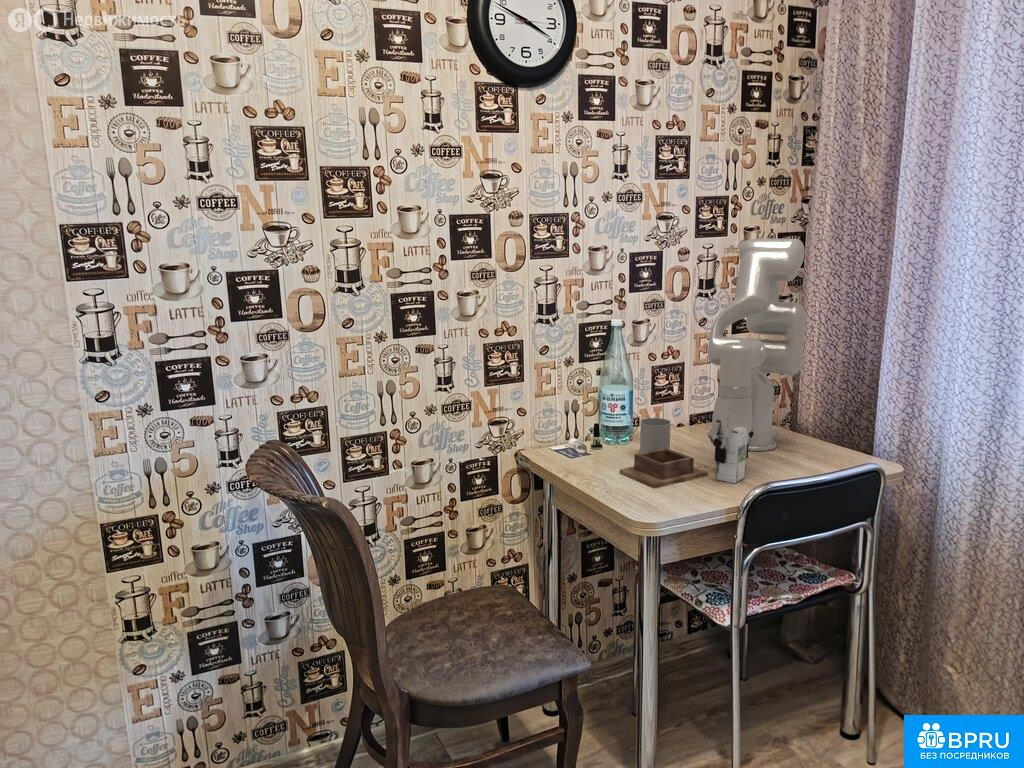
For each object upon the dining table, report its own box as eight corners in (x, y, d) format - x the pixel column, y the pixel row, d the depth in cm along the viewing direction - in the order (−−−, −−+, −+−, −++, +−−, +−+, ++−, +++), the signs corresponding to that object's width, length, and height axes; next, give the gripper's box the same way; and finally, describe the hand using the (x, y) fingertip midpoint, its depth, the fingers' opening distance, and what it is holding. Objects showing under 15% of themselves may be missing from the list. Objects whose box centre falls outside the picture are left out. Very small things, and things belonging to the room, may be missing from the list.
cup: (642, 460, 210) (643, 425, 208) (637, 451, 218) (637, 418, 216) (672, 459, 210) (673, 425, 208) (666, 451, 219) (666, 417, 216)
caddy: (671, 461, 208) (671, 444, 207) (707, 475, 197) (708, 457, 196) (619, 473, 200) (619, 455, 199) (654, 488, 188) (654, 469, 187)
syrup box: (724, 474, 198) (726, 420, 195) (745, 478, 194) (748, 423, 191) (714, 479, 193) (717, 425, 190) (736, 484, 190) (739, 428, 187)
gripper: (747, 385, 196) (744, 450, 200) (698, 393, 188) (695, 461, 192) (770, 390, 190) (766, 457, 194) (720, 399, 182) (717, 469, 185)
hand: (731, 459), depth 193 cm, fingers closed on syrup box, 7 cm apart
